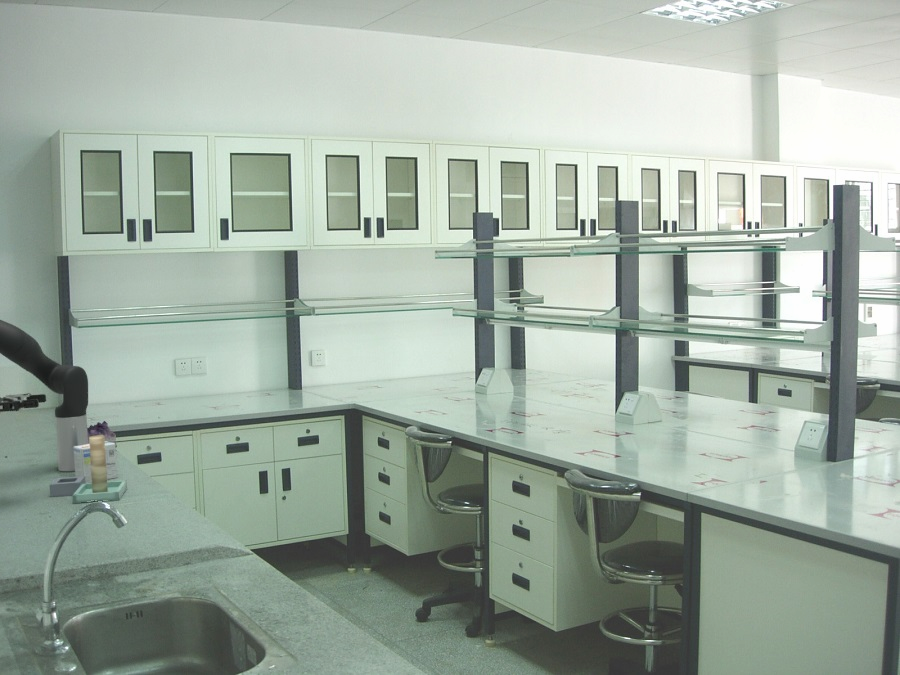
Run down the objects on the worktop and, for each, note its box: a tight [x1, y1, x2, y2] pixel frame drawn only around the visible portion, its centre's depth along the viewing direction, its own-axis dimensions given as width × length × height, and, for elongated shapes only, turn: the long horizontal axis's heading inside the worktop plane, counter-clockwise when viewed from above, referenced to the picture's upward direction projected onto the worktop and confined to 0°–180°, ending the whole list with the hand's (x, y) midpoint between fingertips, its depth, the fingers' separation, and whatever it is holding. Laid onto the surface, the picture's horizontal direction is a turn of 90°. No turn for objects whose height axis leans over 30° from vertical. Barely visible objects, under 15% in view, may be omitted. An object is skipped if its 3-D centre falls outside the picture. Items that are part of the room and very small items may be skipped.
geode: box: [87, 420, 118, 449], centre depth 323 cm, size 20×12×10 cm, turn 25°
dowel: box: [89, 435, 108, 493], centre depth 253 cm, size 4×4×16 cm
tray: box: [71, 479, 128, 504], centre depth 254 cm, size 14×12×2 cm
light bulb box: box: [73, 441, 118, 483], centre depth 274 cm, size 11×7×11 cm, turn 134°
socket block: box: [49, 476, 86, 498], centre depth 259 cm, size 8×8×4 cm
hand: (42, 400), depth 251 cm, fingers open, 8 cm apart
